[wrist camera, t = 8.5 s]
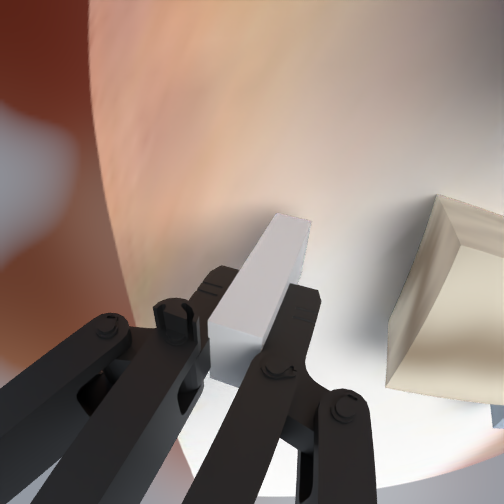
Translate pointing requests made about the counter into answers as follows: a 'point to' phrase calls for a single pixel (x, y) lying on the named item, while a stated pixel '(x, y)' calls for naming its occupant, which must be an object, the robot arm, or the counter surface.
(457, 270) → the block
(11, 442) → the robot arm
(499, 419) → the blue-grey bar
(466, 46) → the counter surface
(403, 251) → the counter surface
